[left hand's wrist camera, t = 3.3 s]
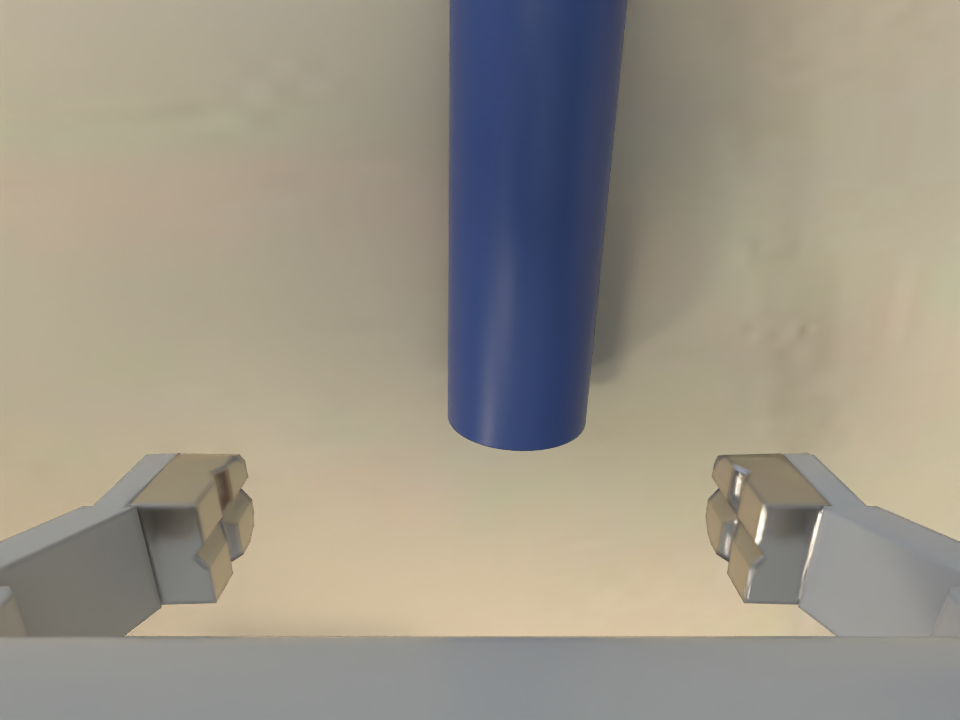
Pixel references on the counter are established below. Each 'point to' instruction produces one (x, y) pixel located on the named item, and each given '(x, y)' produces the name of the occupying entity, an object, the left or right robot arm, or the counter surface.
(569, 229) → the rod
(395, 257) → the counter surface
